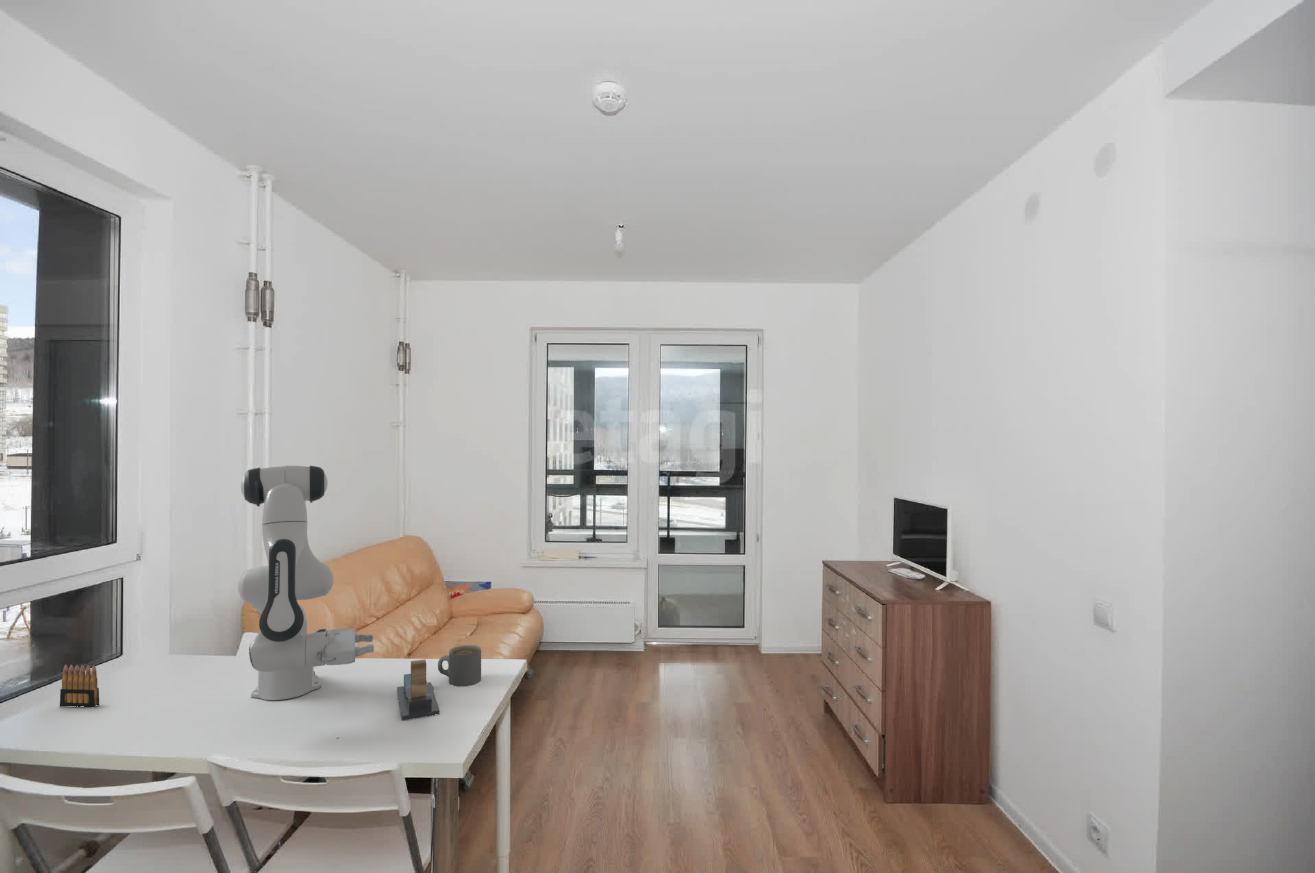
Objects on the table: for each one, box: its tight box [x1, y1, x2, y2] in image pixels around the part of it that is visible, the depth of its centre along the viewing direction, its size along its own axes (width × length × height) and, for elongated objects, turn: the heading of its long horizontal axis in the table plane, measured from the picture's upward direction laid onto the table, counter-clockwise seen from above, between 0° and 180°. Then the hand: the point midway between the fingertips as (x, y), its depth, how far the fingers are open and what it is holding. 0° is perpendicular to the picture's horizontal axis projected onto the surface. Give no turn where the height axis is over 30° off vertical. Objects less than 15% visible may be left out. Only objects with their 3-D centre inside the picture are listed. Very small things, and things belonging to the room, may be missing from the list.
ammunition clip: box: [59, 664, 100, 708], centre depth 193 cm, size 11×2×12 cm, turn 86°
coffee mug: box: [437, 644, 482, 688], centre depth 213 cm, size 13×10×10 cm
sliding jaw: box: [403, 673, 428, 698], centre depth 202 cm, size 12×6×3 cm, turn 24°
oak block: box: [410, 658, 427, 697], centre depth 192 cm, size 4×4×12 cm
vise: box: [396, 681, 441, 721], centre depth 196 cm, size 24×10×4 cm, turn 24°
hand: (373, 642), depth 187 cm, fingers open, 8 cm apart
